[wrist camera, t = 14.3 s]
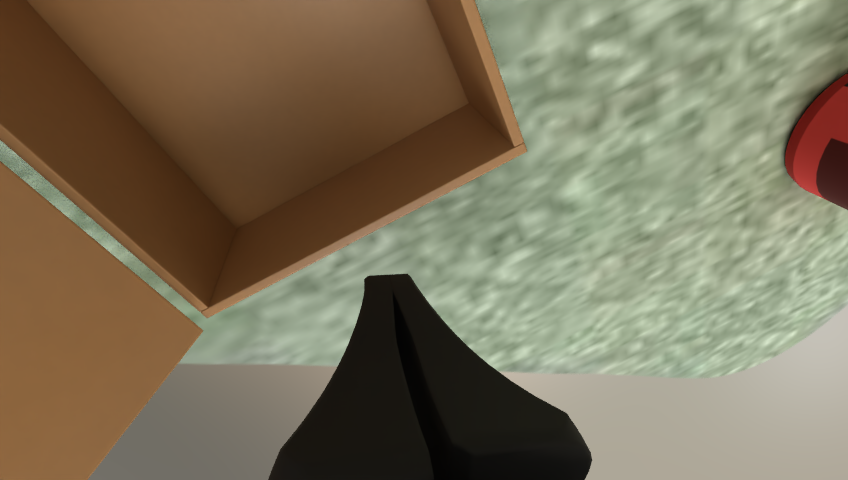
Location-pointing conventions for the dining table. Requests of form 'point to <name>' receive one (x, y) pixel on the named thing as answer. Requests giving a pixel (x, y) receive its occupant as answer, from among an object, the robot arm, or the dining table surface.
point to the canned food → (822, 146)
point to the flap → (72, 341)
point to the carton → (250, 123)
